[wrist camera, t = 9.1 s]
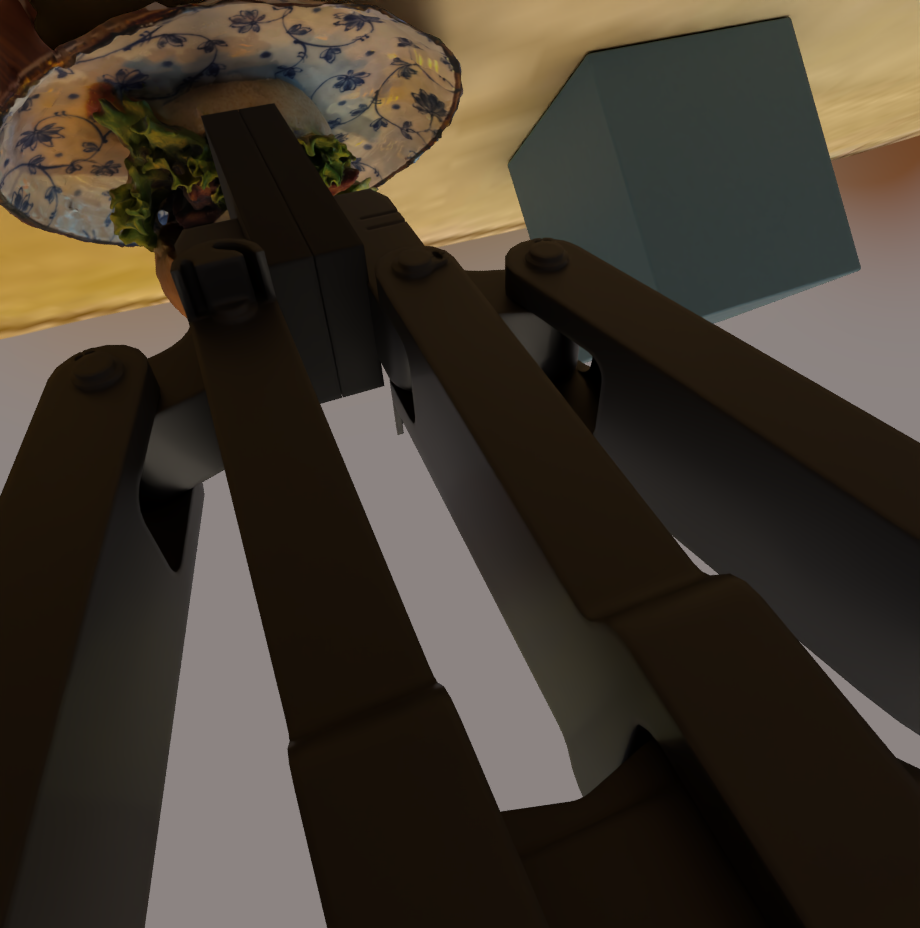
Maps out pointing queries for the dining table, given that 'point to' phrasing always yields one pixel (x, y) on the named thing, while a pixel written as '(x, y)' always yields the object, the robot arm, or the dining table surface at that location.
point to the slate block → (692, 170)
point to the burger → (205, 110)
